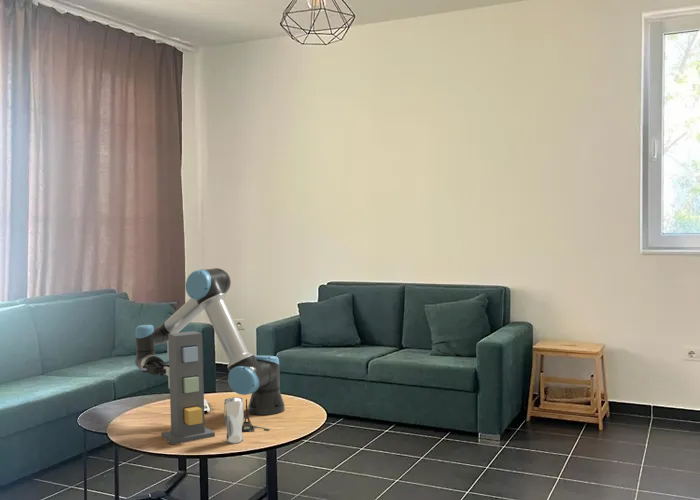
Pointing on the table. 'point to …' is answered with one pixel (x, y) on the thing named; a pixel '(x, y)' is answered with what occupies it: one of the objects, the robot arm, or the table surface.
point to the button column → (177, 396)
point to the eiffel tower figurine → (249, 423)
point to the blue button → (187, 353)
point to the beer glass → (234, 419)
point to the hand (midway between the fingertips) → (170, 372)
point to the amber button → (192, 415)
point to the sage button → (188, 383)
